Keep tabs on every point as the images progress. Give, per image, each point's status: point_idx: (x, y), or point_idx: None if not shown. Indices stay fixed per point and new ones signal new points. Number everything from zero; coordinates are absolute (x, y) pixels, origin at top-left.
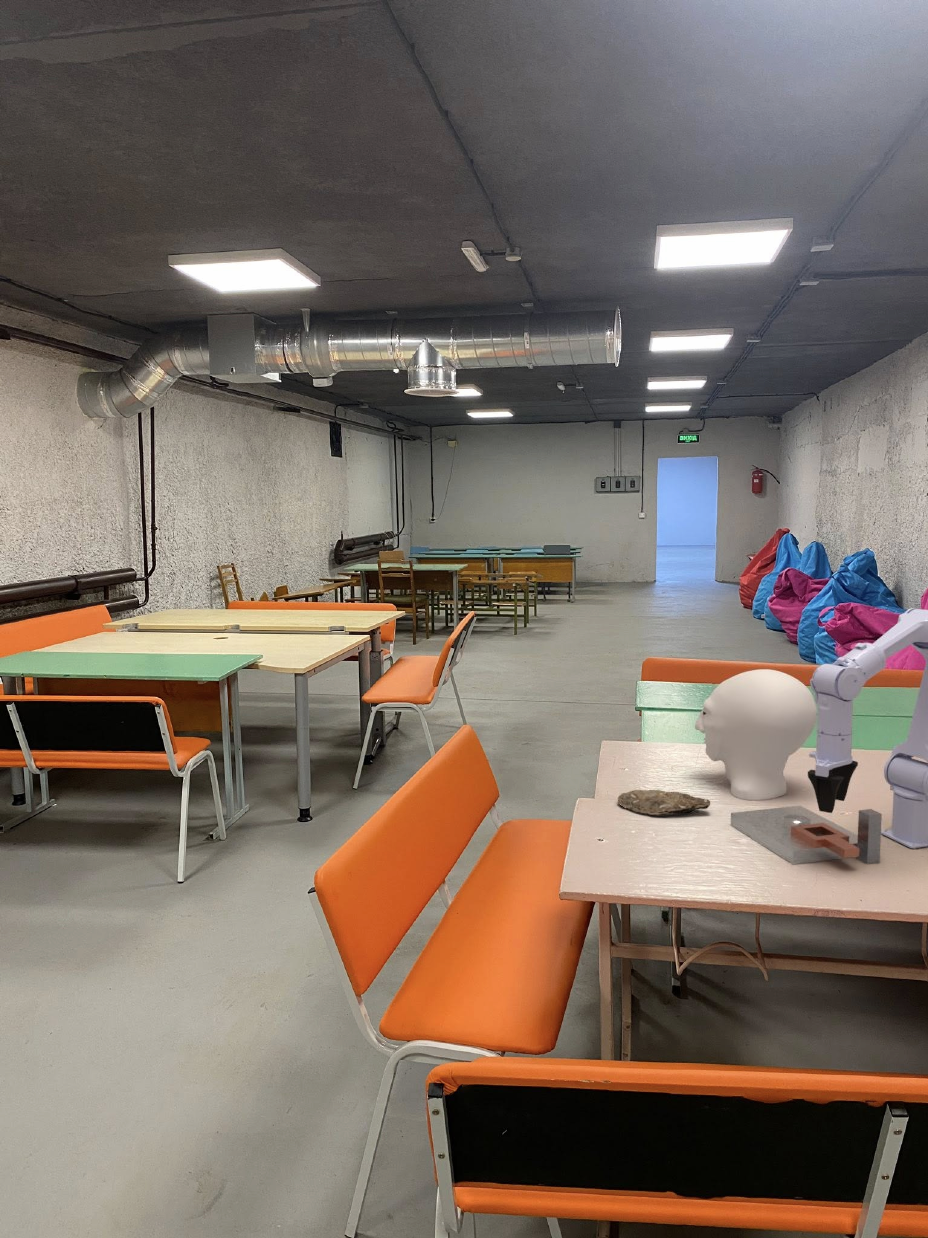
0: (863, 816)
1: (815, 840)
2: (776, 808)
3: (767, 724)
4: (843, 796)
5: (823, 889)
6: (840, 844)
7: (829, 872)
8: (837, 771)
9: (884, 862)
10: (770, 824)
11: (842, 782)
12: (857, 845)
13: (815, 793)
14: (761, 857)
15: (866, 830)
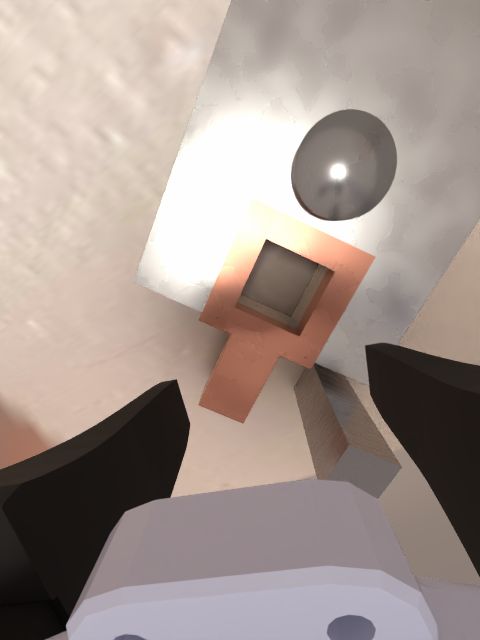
0: (331, 454)
1: (199, 319)
2: None
3: None
4: (378, 408)
5: (90, 386)
6: (226, 381)
7: (180, 355)
8: (476, 479)
9: None
10: (284, 88)
11: (424, 450)
12: (318, 375)
13: (101, 422)
14: (119, 190)
15: (313, 437)
